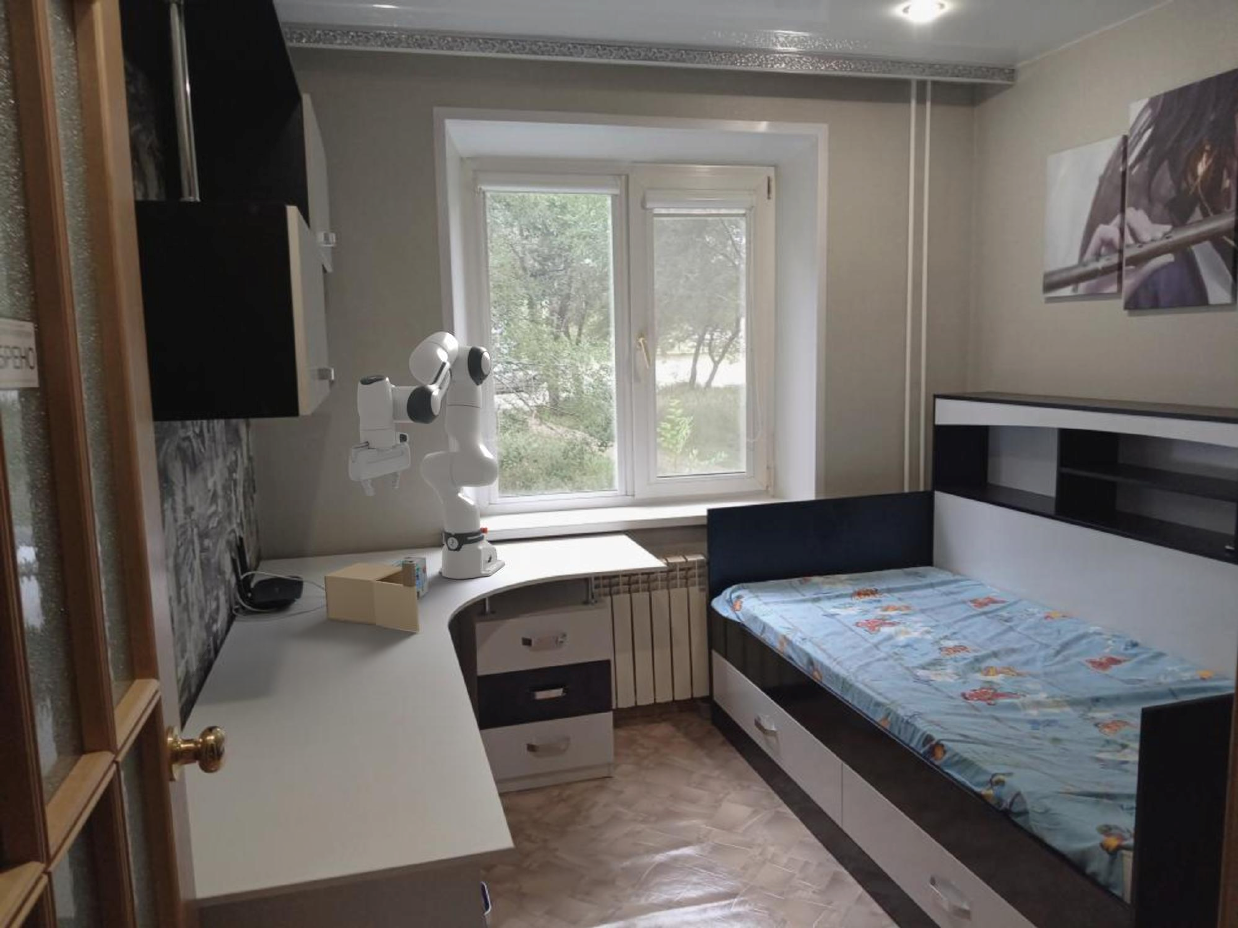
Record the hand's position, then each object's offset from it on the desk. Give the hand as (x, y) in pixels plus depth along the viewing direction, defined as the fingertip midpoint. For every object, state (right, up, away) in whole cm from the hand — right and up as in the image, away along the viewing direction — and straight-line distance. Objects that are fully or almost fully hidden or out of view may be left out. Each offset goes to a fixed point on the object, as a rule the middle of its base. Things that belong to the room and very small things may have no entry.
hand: (382, 491), depth 221 cm
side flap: (+5, -35, -3) cm, 35 cm away
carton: (-6, -34, +10) cm, 36 cm away
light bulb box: (+1, -32, +25) cm, 40 cm away
